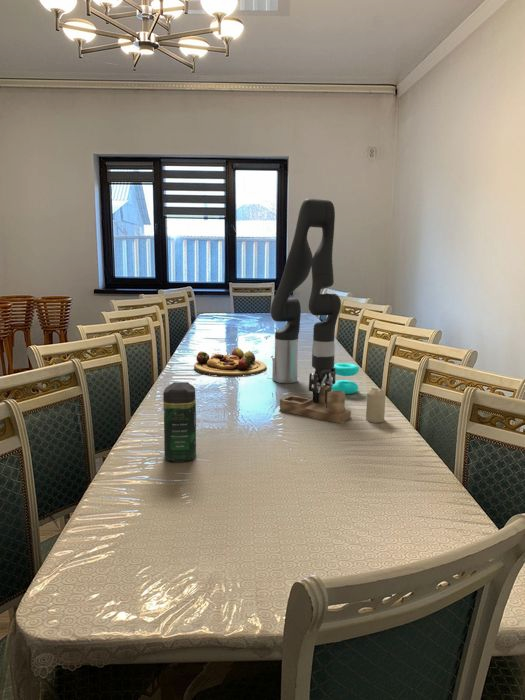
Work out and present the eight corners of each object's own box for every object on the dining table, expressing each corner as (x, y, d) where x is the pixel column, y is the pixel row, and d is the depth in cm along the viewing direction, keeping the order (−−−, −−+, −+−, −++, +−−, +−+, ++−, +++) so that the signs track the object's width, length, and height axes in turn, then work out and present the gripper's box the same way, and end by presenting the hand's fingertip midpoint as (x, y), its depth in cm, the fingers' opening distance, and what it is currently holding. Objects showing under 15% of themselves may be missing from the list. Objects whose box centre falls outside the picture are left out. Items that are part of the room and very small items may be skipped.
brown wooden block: (313, 403, 176) (314, 386, 175) (319, 401, 179) (320, 384, 178) (325, 406, 173) (326, 388, 172) (331, 403, 177) (331, 386, 175)
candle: (385, 418, 161) (386, 387, 159) (383, 423, 156) (384, 391, 154) (367, 416, 163) (368, 385, 161) (364, 421, 157) (366, 390, 156)
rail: (279, 410, 168) (280, 385, 167) (291, 405, 174) (291, 381, 172) (340, 423, 156) (341, 396, 154) (350, 417, 161) (351, 391, 159)
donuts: (332, 361, 196) (359, 362, 194) (331, 387, 198) (358, 388, 196) (330, 367, 186) (358, 368, 185) (330, 393, 188) (357, 395, 186)
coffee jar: (195, 462, 126) (194, 389, 122) (162, 463, 125) (160, 389, 122) (197, 448, 135) (196, 379, 132) (167, 448, 135) (165, 379, 131)
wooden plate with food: (180, 373, 220) (180, 354, 219) (214, 358, 249) (214, 342, 248) (248, 382, 209) (249, 362, 207) (276, 366, 238) (277, 348, 236)
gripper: (323, 349, 181) (322, 393, 184) (302, 355, 170) (301, 403, 173) (343, 351, 177) (341, 397, 180) (322, 358, 165) (321, 406, 168)
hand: (322, 400), depth 176 cm, fingers open, 8 cm apart
